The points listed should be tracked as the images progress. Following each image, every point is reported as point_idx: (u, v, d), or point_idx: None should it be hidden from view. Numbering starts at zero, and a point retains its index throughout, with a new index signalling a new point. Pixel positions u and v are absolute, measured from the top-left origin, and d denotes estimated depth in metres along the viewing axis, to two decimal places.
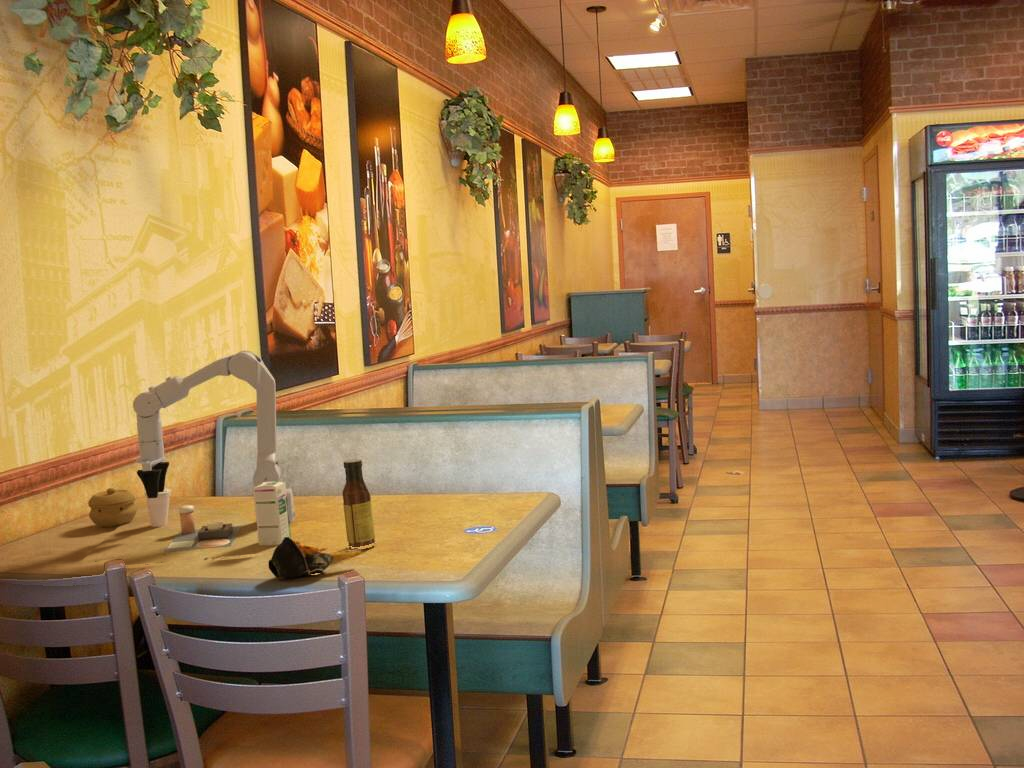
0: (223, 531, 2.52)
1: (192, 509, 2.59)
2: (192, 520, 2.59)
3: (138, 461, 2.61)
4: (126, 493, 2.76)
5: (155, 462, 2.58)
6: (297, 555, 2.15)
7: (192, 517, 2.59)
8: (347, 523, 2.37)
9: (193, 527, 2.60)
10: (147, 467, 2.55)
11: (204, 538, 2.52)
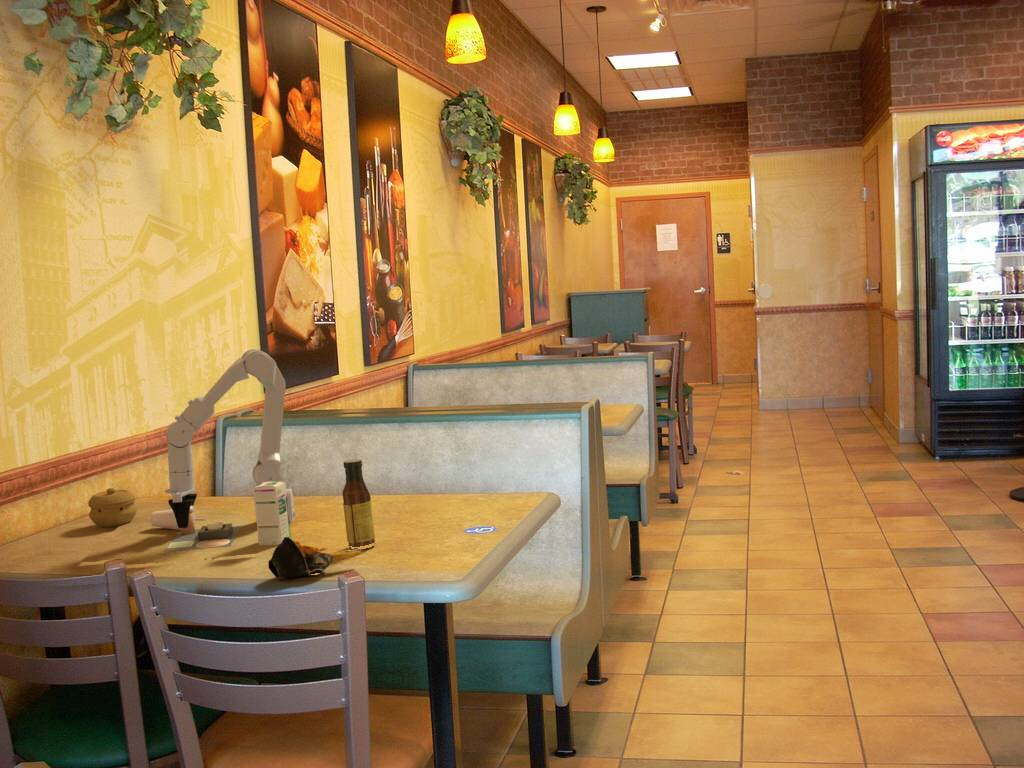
0: (223, 531, 2.52)
1: (191, 509, 2.59)
2: (192, 520, 2.59)
3: (168, 491, 2.58)
4: (126, 493, 2.76)
5: (185, 493, 2.55)
6: (297, 555, 2.15)
7: (192, 517, 2.59)
8: (347, 523, 2.37)
9: (193, 527, 2.60)
10: (178, 498, 2.52)
11: (204, 538, 2.52)
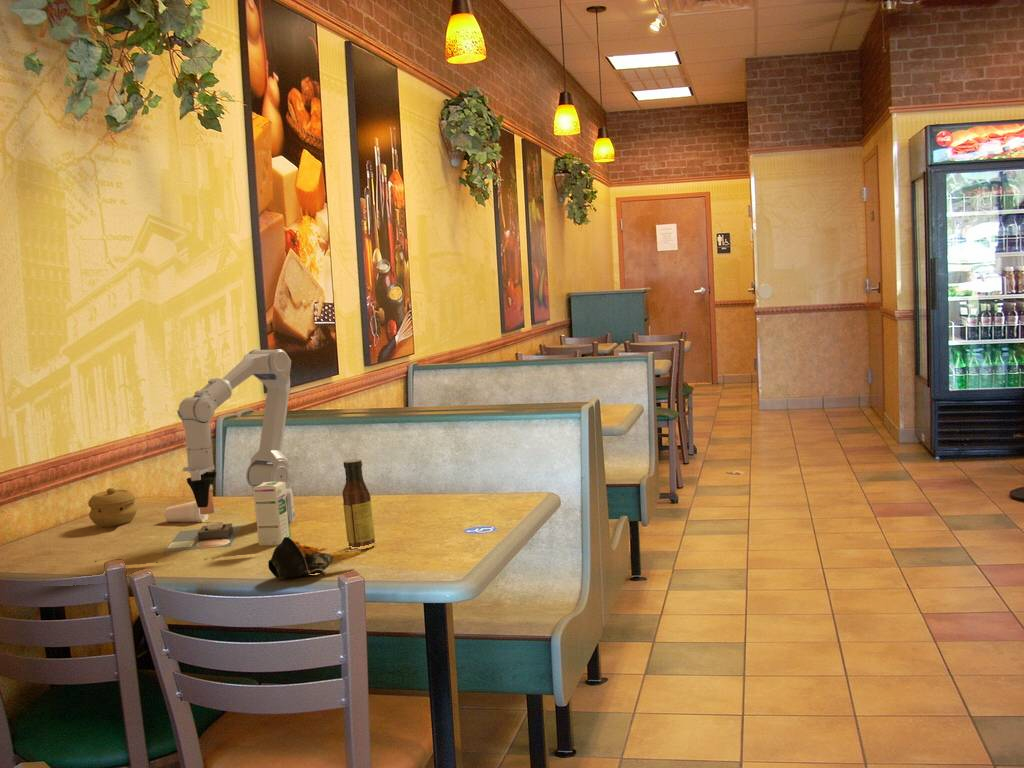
0: (223, 531, 2.52)
1: (211, 488, 2.49)
2: (211, 499, 2.49)
3: (186, 470, 2.47)
4: (126, 493, 2.76)
5: (204, 471, 2.44)
6: (297, 555, 2.15)
7: (211, 496, 2.49)
8: (347, 523, 2.37)
9: (212, 507, 2.49)
10: (196, 476, 2.42)
11: (204, 538, 2.52)
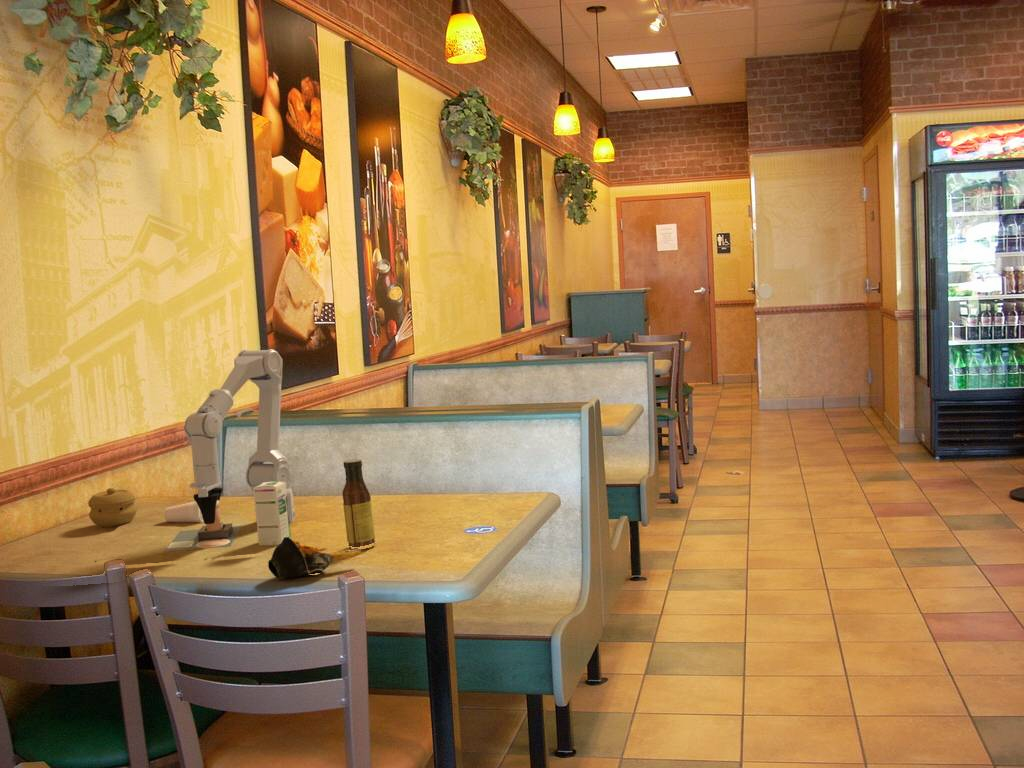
0: (223, 531, 2.52)
1: (218, 504, 2.47)
2: (218, 516, 2.47)
3: (192, 486, 2.45)
4: (126, 493, 2.76)
5: (211, 487, 2.42)
6: (297, 555, 2.15)
7: (218, 512, 2.47)
8: (347, 523, 2.37)
9: (219, 523, 2.47)
10: (203, 493, 2.39)
11: (204, 538, 2.52)
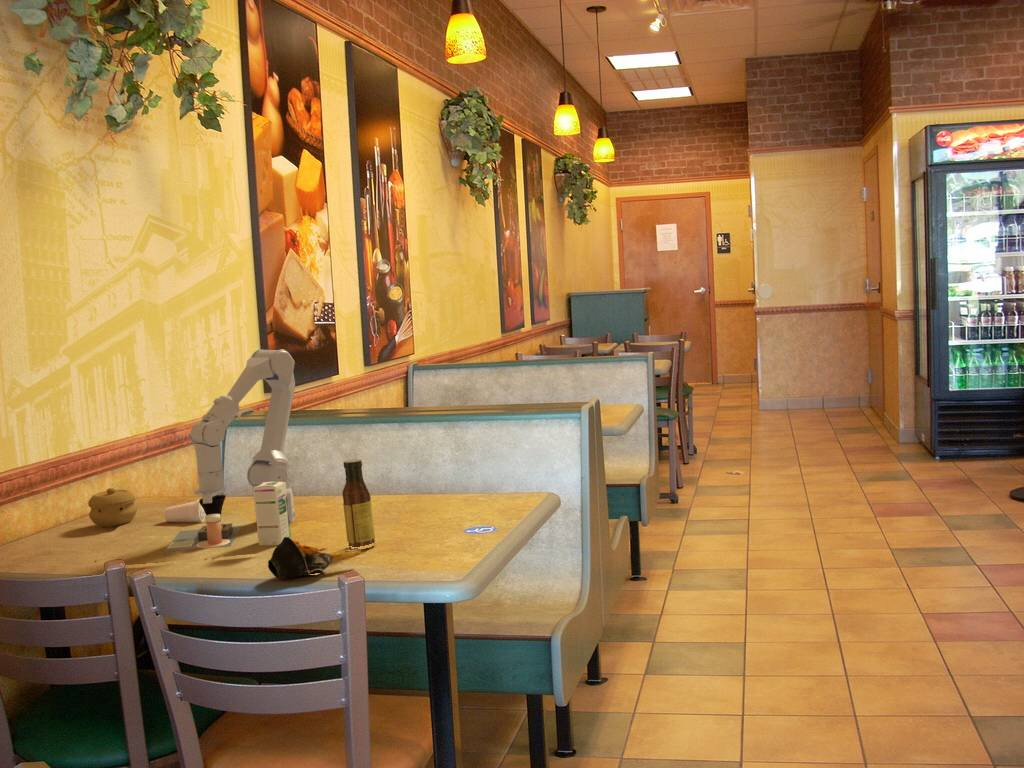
0: (223, 531, 2.52)
1: (219, 518, 2.47)
2: (219, 529, 2.47)
3: (197, 492, 2.53)
4: (126, 493, 2.76)
5: (215, 494, 2.50)
6: (297, 555, 2.15)
7: (219, 526, 2.47)
8: (347, 523, 2.37)
9: (220, 537, 2.47)
10: (208, 499, 2.47)
11: (204, 538, 2.52)
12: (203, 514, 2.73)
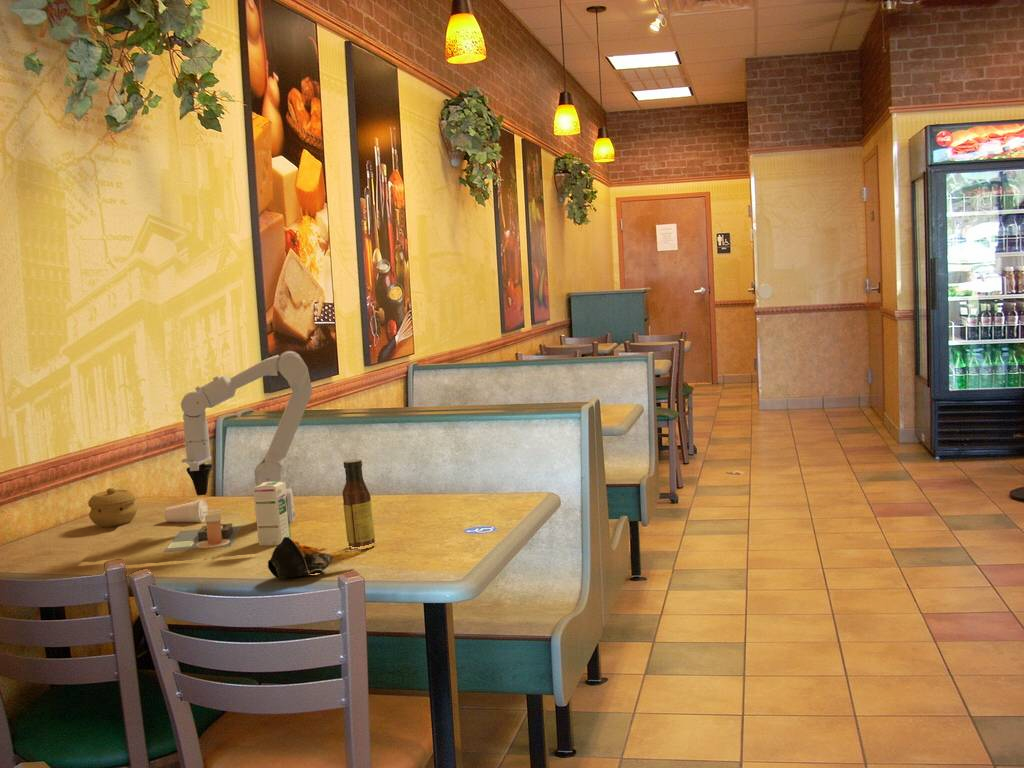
0: (223, 531, 2.52)
1: (219, 518, 2.47)
2: (219, 529, 2.47)
3: (184, 461, 2.60)
4: (126, 493, 2.76)
5: (202, 462, 2.58)
6: (297, 555, 2.15)
7: (219, 526, 2.47)
8: (347, 523, 2.37)
9: (220, 537, 2.47)
10: (194, 467, 2.55)
11: (204, 538, 2.52)
12: (203, 514, 2.73)
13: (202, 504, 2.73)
